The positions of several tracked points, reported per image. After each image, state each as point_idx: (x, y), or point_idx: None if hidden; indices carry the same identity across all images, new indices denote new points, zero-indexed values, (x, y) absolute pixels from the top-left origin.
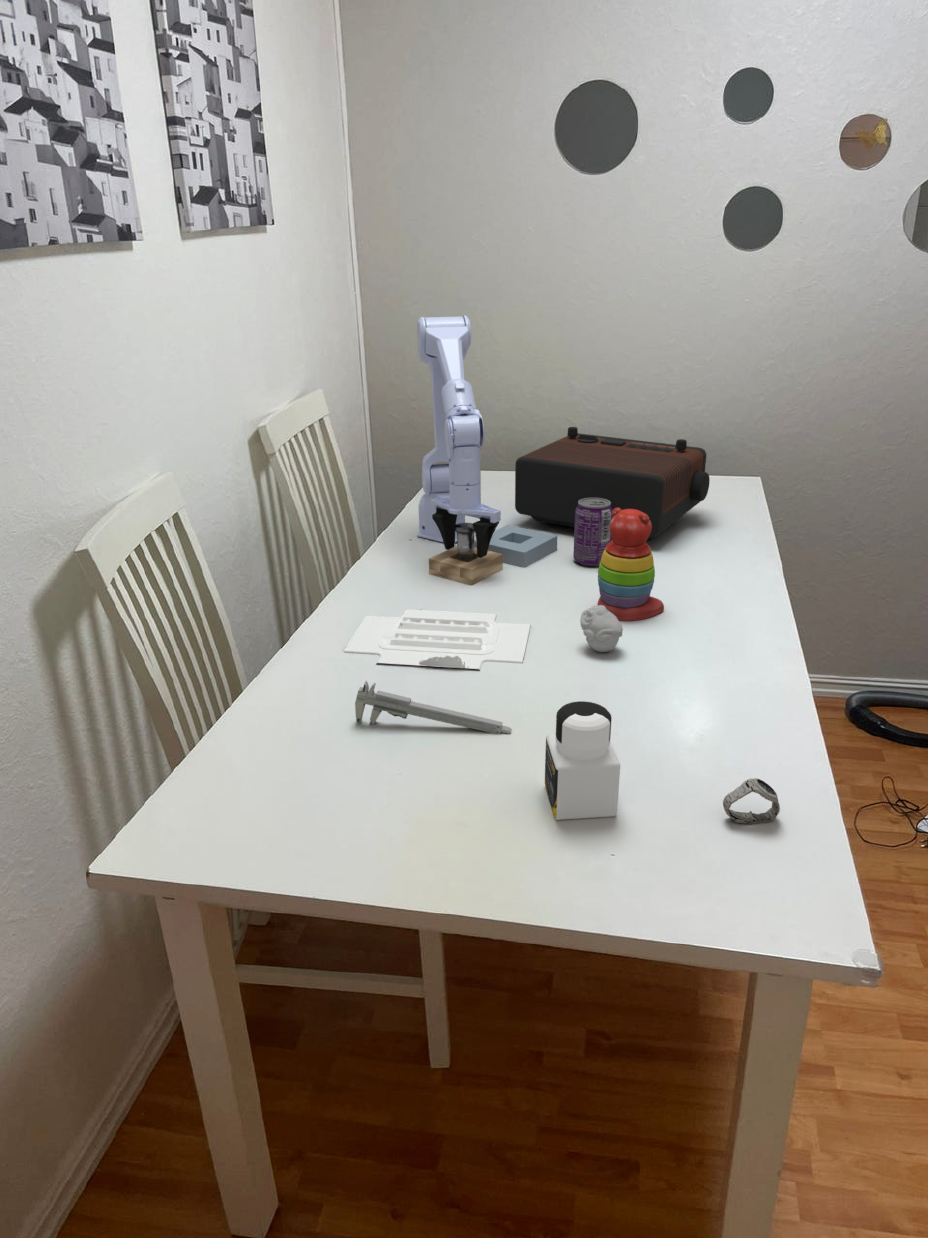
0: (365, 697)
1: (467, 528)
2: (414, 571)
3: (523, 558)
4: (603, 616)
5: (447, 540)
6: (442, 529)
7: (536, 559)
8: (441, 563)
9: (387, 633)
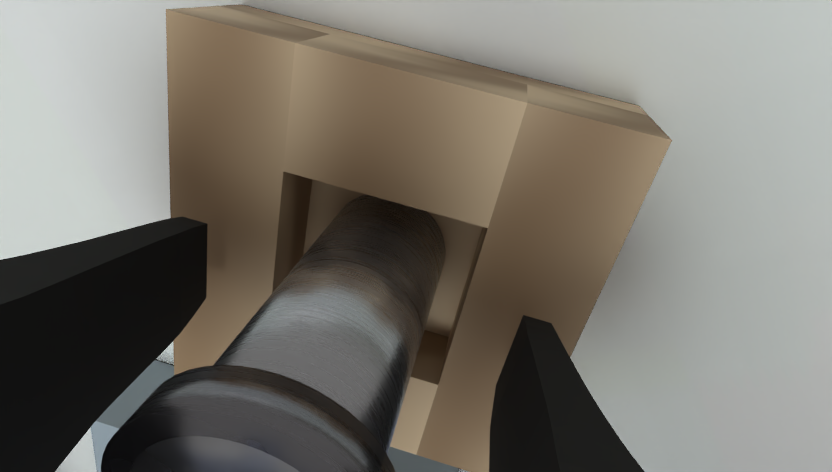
0: None
1: (157, 449)
2: (785, 113)
3: (123, 393)
4: None
5: (526, 379)
6: (585, 468)
7: None
8: (508, 93)
9: None
